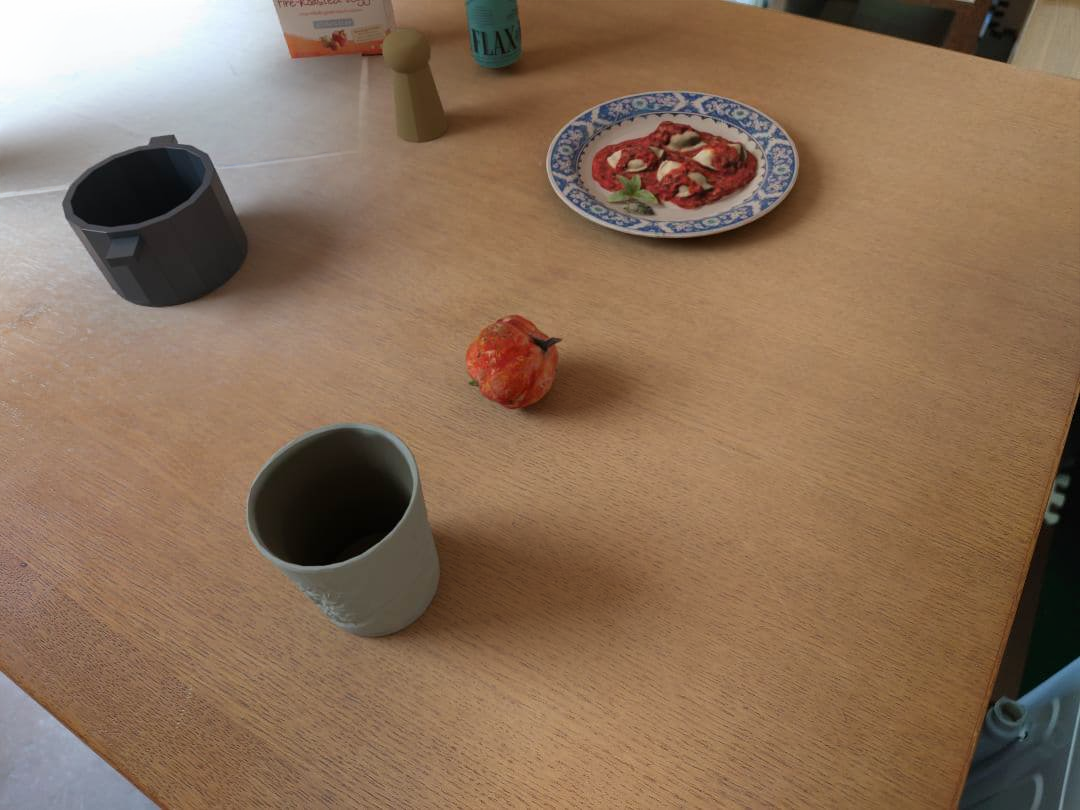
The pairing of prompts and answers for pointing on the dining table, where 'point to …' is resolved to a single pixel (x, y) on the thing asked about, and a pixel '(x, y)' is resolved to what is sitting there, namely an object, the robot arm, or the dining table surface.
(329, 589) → the grey green cup
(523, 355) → the pomegranate
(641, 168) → the ceramic plate
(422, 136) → the olive peg figure
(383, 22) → the cracker box
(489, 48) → the beverage bottle
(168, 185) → the pot
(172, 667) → the dining table surface
